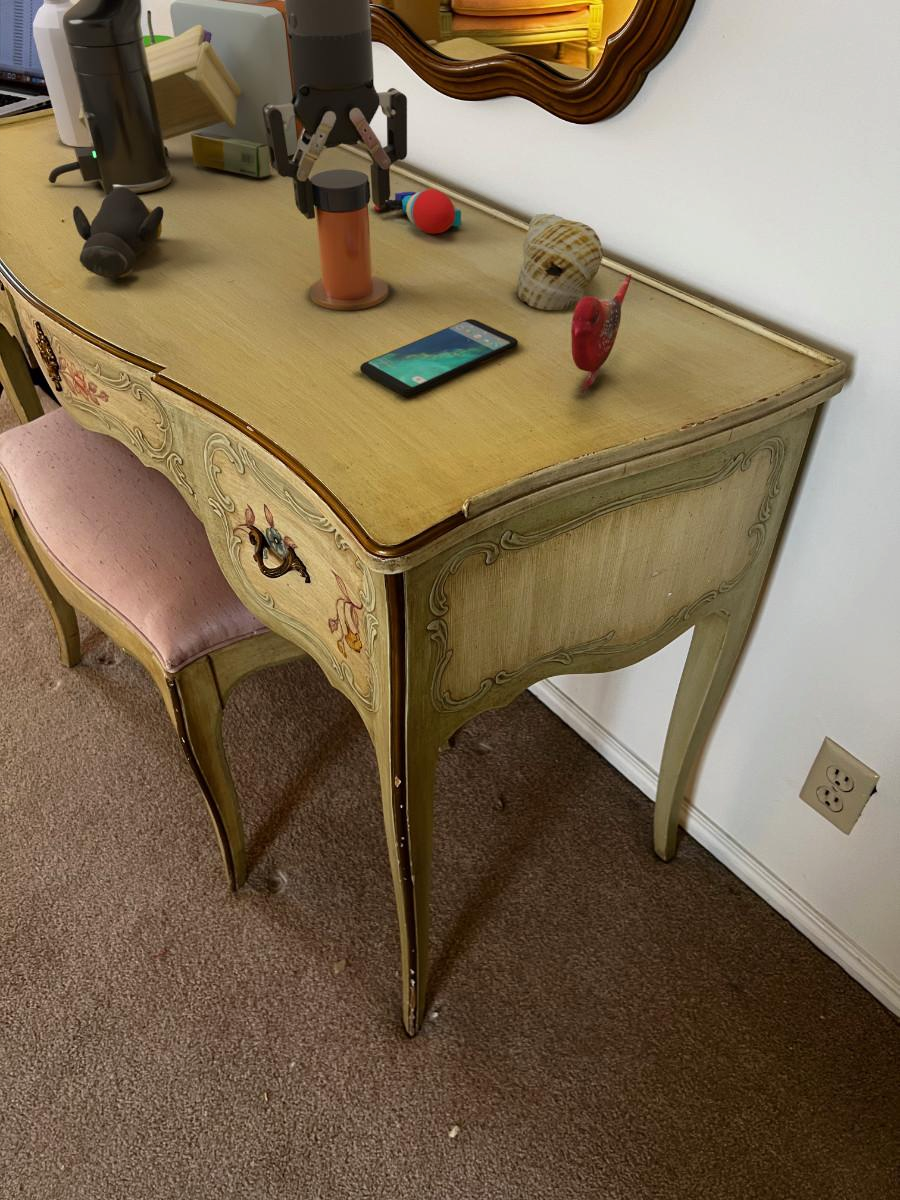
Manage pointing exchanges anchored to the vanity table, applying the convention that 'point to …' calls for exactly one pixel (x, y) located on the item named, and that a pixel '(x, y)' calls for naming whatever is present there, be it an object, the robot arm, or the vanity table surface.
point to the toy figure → (426, 210)
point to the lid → (340, 190)
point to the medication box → (231, 154)
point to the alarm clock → (247, 59)
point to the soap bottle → (59, 71)
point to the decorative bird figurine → (595, 331)
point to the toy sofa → (190, 84)
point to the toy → (117, 233)
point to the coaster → (364, 302)
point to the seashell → (557, 262)
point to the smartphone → (438, 356)
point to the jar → (345, 252)
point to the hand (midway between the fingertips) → (344, 210)
